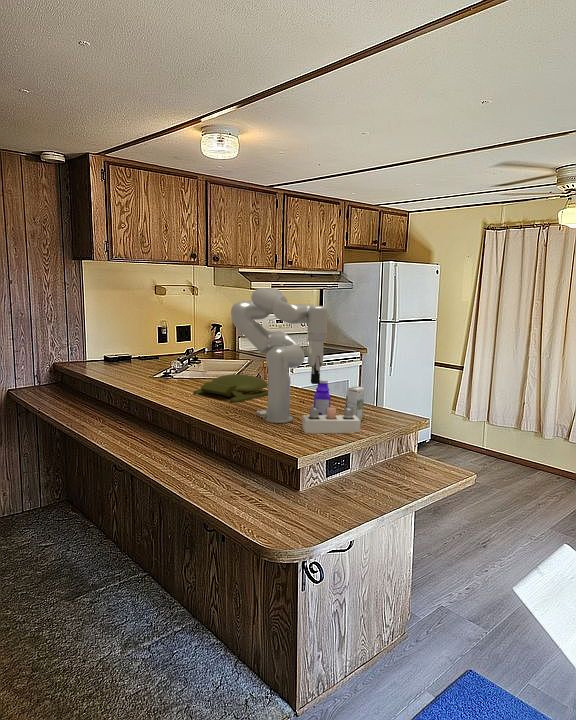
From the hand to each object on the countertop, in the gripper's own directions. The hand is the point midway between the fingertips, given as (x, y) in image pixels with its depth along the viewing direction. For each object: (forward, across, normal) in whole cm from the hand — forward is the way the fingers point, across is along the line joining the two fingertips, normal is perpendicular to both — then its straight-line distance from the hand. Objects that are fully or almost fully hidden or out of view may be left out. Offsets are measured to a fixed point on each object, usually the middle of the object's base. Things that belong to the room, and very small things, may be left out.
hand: (315, 383), depth 213 cm
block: (+19, 0, +7) cm, 20 cm away
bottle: (+19, -18, +6) cm, 27 cm away
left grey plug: (+15, 0, 0) cm, 15 cm away
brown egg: (+16, 0, +7) cm, 17 cm away
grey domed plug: (+16, 0, +14) cm, 21 cm away
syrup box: (+19, -16, +20) cm, 32 cm away
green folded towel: (+20, -70, -31) cm, 79 cm away
